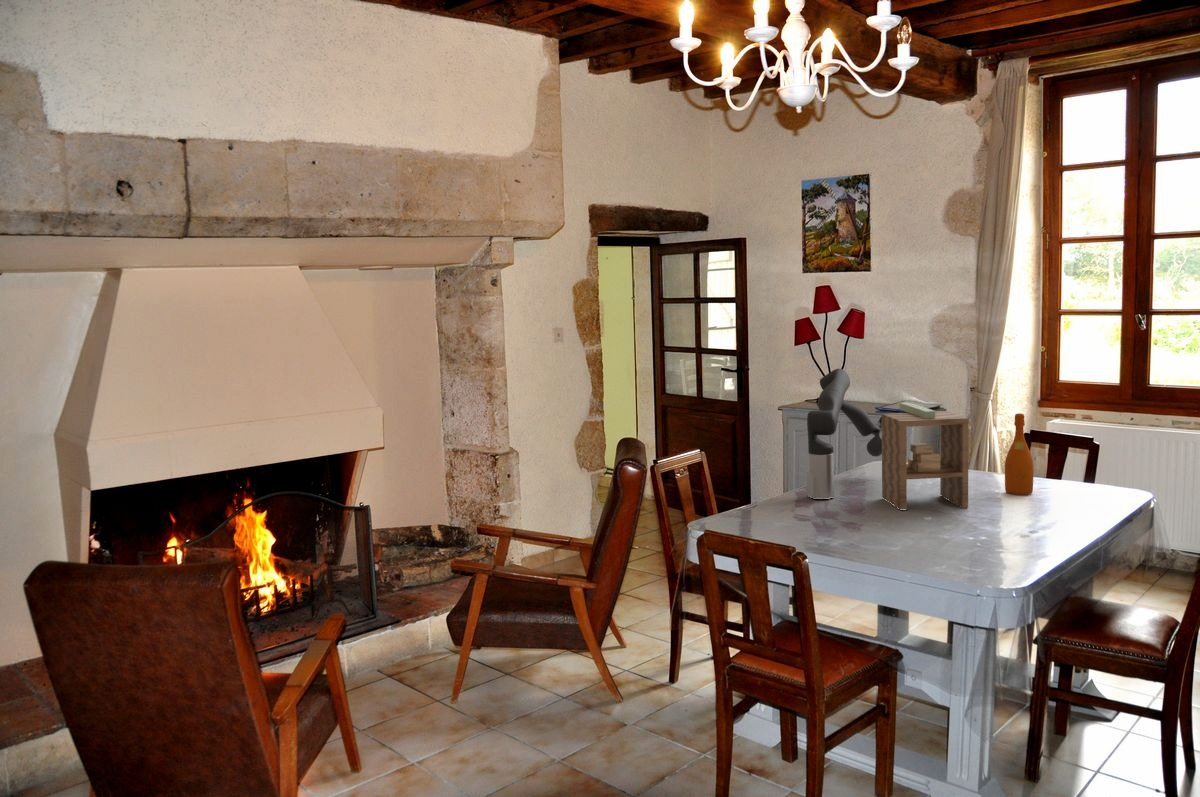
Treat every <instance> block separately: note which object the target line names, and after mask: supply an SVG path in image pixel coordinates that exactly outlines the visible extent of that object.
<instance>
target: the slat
mask: <svg viewBox="0 0 1200 797" xmlns="http://www.w3.org/2000/svg"><path fill="white" fill-rule="evenodd" d="M899 410H901V411H903V412H905V413H911V414H914V415H917V416H920V417H923V418H935V411H936V410H934V409H931V408H927V407H925V406H921V405H918V404H915V403H913V402H906V401H905V402H899Z"/></svg>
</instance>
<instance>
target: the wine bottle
mask: <svg viewBox="0 0 1200 797" xmlns="http://www.w3.org/2000/svg"><path fill="white" fill-rule="evenodd" d="M1013 425H1014V426H1015V432H1014V437H1013V438H1014V439H1013V441H1012V443H1011V445H1010V448H1009V449H1008V452H1007V454H1006V457H1005V462H1004V490H1005V492H1006V493H1007V494H1009V495H1013V496H1014V495H1015V496H1027V495H1031V494H1032V493H1033V492H1034V491H1033V490H1034V472H1035V471H1034V470H1035V469H1034V460H1033V456H1032V453H1031V450H1030V449H1029V446H1028V444H1027V442H1026V439H1025V434H1024V432H1025V431H1024V427H1025V414H1024V413H1021V412H1019V413H1015V415H1014V423H1013Z"/></svg>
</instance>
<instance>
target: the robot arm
mask: <svg viewBox="0 0 1200 797" xmlns="http://www.w3.org/2000/svg"><path fill="white" fill-rule="evenodd" d="M819 385H820V387H821V389H822V391H821V392H820V394H819V397H818V399H817V408H818V409H819V410H810V411H809V412H807V416H806V427H807V428H806V429H807V442H808V443H807V444H808V448H807V449H808V450H807V452H808V456H807V457H808V471H807V472H806V496H807V495H809V496H811V497H813V498H817V497H818V498H829V497H833V496H834V497H835V486H834V485H835V484H834V483H835V482H834V481H835V479H834V478H835V475H834V470H835V469H834V468H835V467H834V446H833V445H832V444H831V443H828V442H825V441H823V440H821V439H820V438H819V437H818V436H831V435H834V434H835V433H836V431H837V428H838V421H839V416H840V411H841V412H842V413H843V414H844V415H845V417H847V418H848V419H849V421H850V422H851V423H852V424H853V425H854V427H855V429H857V431H858V432H859V434H860V435H861V436H862V437H868V436H871V435H873V438H871V439H870V440H868V441H867V443H866V451H867V453H868V454H869V455H870V456H872V457H879V456H882V416H880V417H879V420H878V421H877V424H875V422H874V421H873V420H872V418H871V417H870V416H869V414H868V413H867V412H866V411H865V410H864V409H863V408H861V407H859V406H856V405H854V404H852V403H849V402H848V401H846V400H844V399H845V395H846V393H847V390H848V389H849V388H850V385H851V379H850V376H849V374H848V373H847V372H846V371H845V370H844V369H843V368H835V369H833V370H832V371H830V372H829V373H827V374H825V375H824V376H823V377H821V378H820V379H819ZM891 413H894V412H891ZM910 427H912V428H913V427H914V426H910Z"/></svg>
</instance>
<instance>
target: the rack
mask: <svg viewBox="0 0 1200 797" xmlns="http://www.w3.org/2000/svg"><path fill="white" fill-rule="evenodd" d="M934 411H935V418H923V417H920V416H917V415H914V414H911V413H909V412H896V413H894V412H893V413H892V412H889V413H881V417H882V454H881V495H882V496H881V497H883V498H884V499H886V500H887V501H889V502H891V503H892V504H894V505H895V506H896V507H898V508H899V509H907V508H908V506H907V505H908V502H907V501H908V500H907V498H908V497H907V496H908V495H907V490H908V488H907V484H908V483H907V480H922V479H927V480H928V479H940V482H939V483H940V486H939V489H940V490H939V491H940V492H939V493H940V495H942V496H943V497H945V498H947V499H949V500H950V501H952V502H954V503H955V504H954V503H953V504H954V505H956V504H957V505H956V506H958V505H959V506H961V507H962V508H961V507H960V508H961V509H967V508H966V507H968V508H969V423H970V422H969V420H970V419H969V417H966V416H963V415H960V414H956V413H953V412H950V411H947V410H945V411H944V410H943V411H942V410H939V411H938V410H937V411H936V410H934ZM911 426H913V427H929V426H930V427H931V426H940V430H939V431H940V434H939V435H940V436H939V437H940V439H939V440H940V443H939V444H940V445H939V446H940V447H939V448H940V452H939V453H938V452H936V451H934V446H933V445H932V444H929V443H926V442H925V443H910V445H909V447H910V448H909V450H910V452H911V453H912V458H911V457H910V458H908V459H907V427H911ZM943 497H942V498H943ZM945 498H944V499H945ZM947 499H946V500H947ZM950 501H949V502H950ZM952 502H951V503H952ZM959 506H958V507H959ZM907 510H908V509H907Z"/></svg>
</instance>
